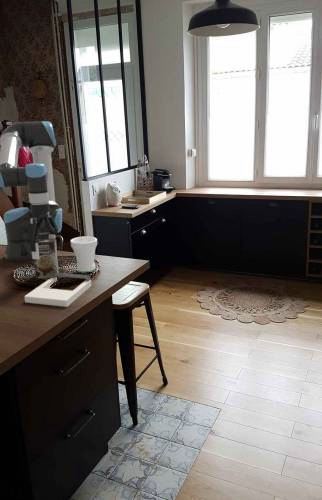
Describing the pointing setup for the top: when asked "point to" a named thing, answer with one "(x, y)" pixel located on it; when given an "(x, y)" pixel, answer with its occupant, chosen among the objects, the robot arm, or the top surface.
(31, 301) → the white rectangular frame
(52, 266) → the grey rectangular box
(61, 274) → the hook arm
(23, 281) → the top surface
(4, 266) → the top surface
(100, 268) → the top surface
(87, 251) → the cup
